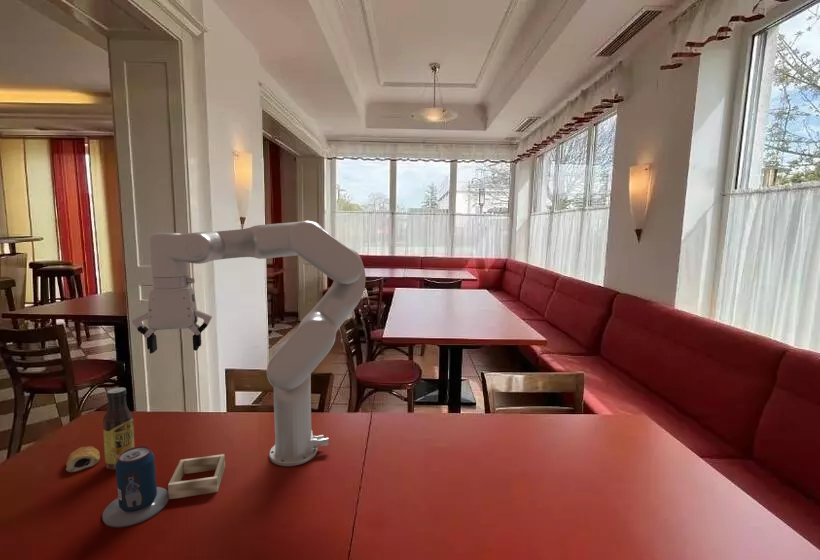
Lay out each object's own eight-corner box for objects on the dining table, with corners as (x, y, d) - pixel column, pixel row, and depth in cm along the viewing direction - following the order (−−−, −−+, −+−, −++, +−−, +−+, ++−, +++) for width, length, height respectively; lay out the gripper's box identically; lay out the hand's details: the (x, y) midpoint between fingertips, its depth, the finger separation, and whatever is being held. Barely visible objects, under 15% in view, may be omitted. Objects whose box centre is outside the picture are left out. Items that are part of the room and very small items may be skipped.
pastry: (68, 457, 105) (67, 444, 104) (100, 449, 109) (99, 436, 109) (65, 475, 98) (64, 461, 97) (100, 466, 102) (99, 452, 101)
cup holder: (225, 466, 102) (224, 454, 101) (217, 492, 92) (216, 478, 92) (181, 472, 99) (180, 459, 98) (168, 499, 89) (167, 485, 89)
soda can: (149, 489, 92) (146, 441, 90) (163, 501, 88) (159, 451, 86) (114, 506, 86) (109, 454, 84) (126, 520, 82) (122, 466, 80)
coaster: (175, 485, 94) (175, 483, 94) (158, 521, 83) (158, 518, 83) (117, 493, 91) (117, 491, 91) (91, 532, 79) (90, 529, 79)
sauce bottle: (119, 473, 98) (113, 397, 96) (99, 469, 100) (91, 394, 97) (142, 458, 105) (136, 386, 102) (122, 455, 106) (116, 384, 103)
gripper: (212, 280, 103) (215, 343, 105) (136, 281, 98) (141, 348, 101) (206, 284, 96) (209, 352, 98) (123, 286, 91) (129, 357, 93)
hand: (175, 350), depth 99 cm, fingers open, 9 cm apart
